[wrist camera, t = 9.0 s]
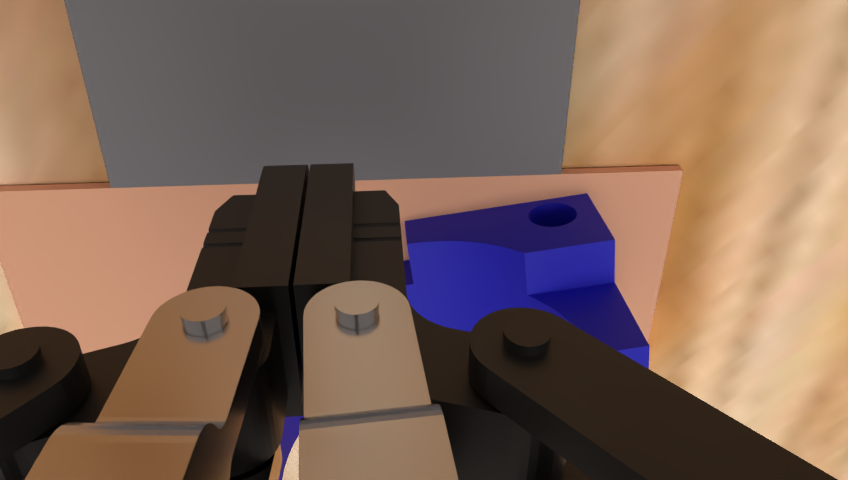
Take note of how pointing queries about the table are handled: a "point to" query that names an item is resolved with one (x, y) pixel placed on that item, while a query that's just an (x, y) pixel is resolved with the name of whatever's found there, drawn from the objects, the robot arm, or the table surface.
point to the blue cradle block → (516, 273)
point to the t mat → (307, 138)
